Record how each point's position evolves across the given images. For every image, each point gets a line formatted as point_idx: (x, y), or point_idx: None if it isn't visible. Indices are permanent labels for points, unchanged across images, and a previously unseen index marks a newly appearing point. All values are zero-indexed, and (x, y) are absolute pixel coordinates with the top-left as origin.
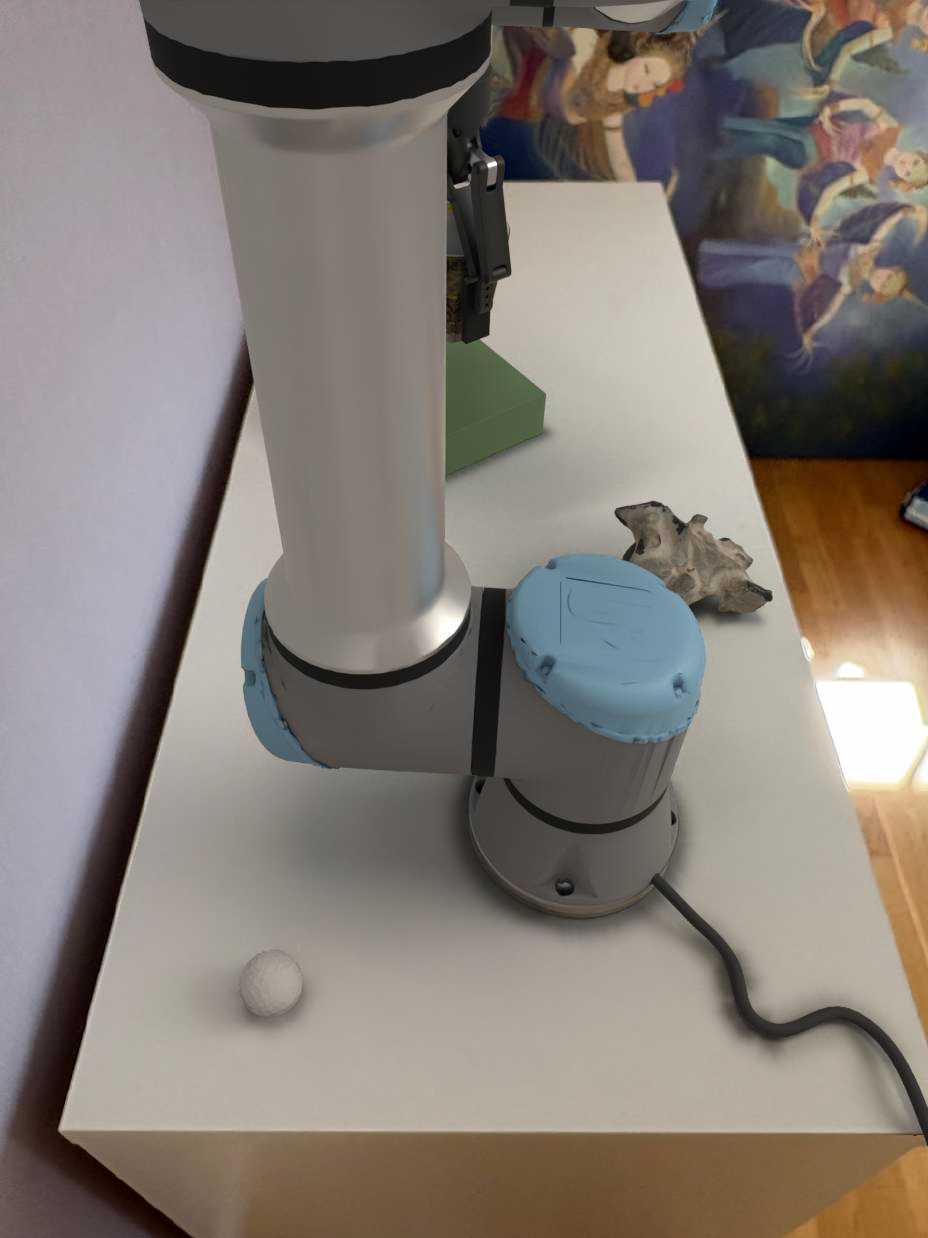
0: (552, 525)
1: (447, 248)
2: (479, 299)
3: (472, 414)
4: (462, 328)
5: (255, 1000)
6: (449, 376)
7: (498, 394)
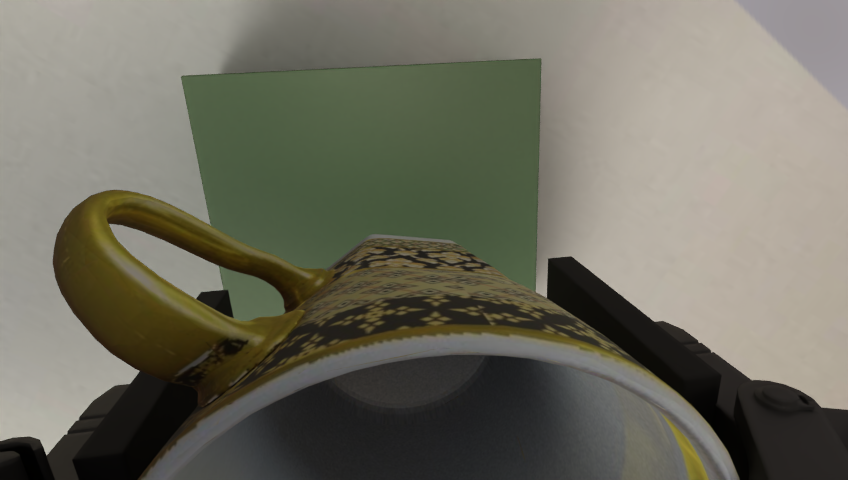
0: (8, 234)
1: (560, 469)
2: (80, 432)
3: (244, 233)
4: None
5: None
6: None
7: (284, 312)
